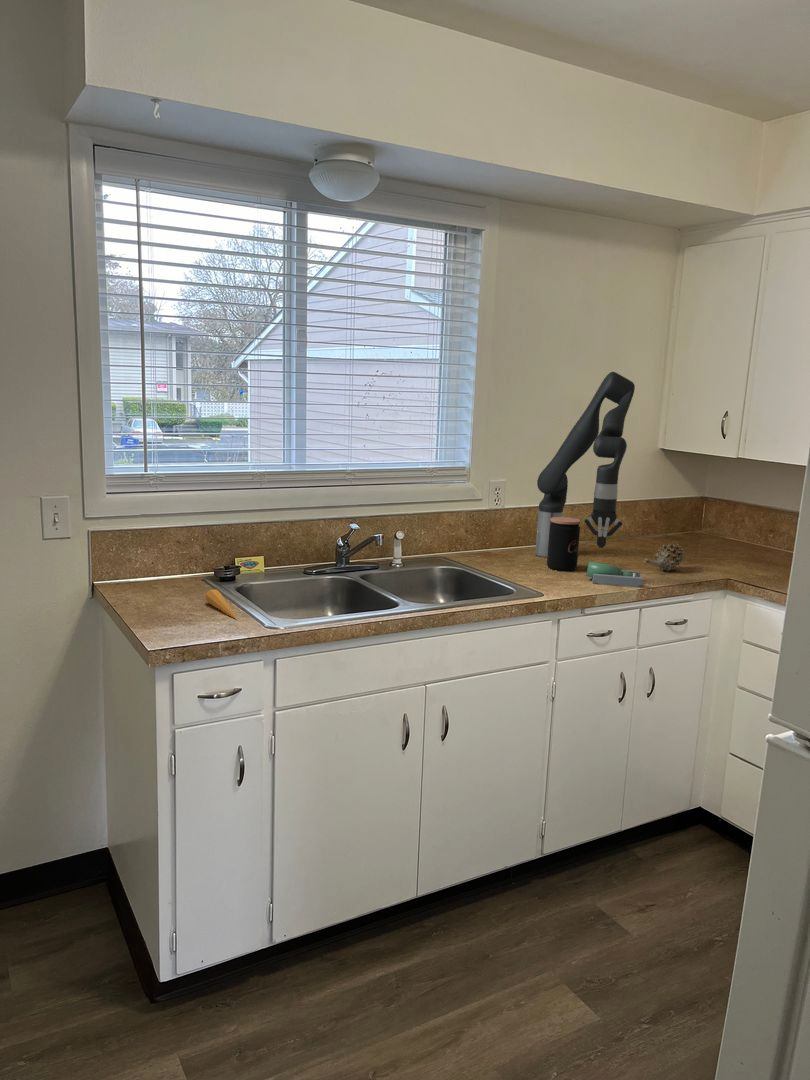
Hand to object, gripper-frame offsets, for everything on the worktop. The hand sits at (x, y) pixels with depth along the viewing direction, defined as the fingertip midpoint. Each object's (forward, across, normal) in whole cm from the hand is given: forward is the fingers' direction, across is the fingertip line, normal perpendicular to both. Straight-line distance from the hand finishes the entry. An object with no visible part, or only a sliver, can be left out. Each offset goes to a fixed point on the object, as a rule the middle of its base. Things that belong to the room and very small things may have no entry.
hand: (600, 547), depth 278 cm
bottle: (+8, -4, 0) cm, 9 cm away
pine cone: (+12, +24, +22) cm, 35 cm away
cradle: (+12, +6, 0) cm, 13 cm away
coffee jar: (+12, -12, +14) cm, 22 cm away
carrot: (+12, -106, -72) cm, 128 cm away
